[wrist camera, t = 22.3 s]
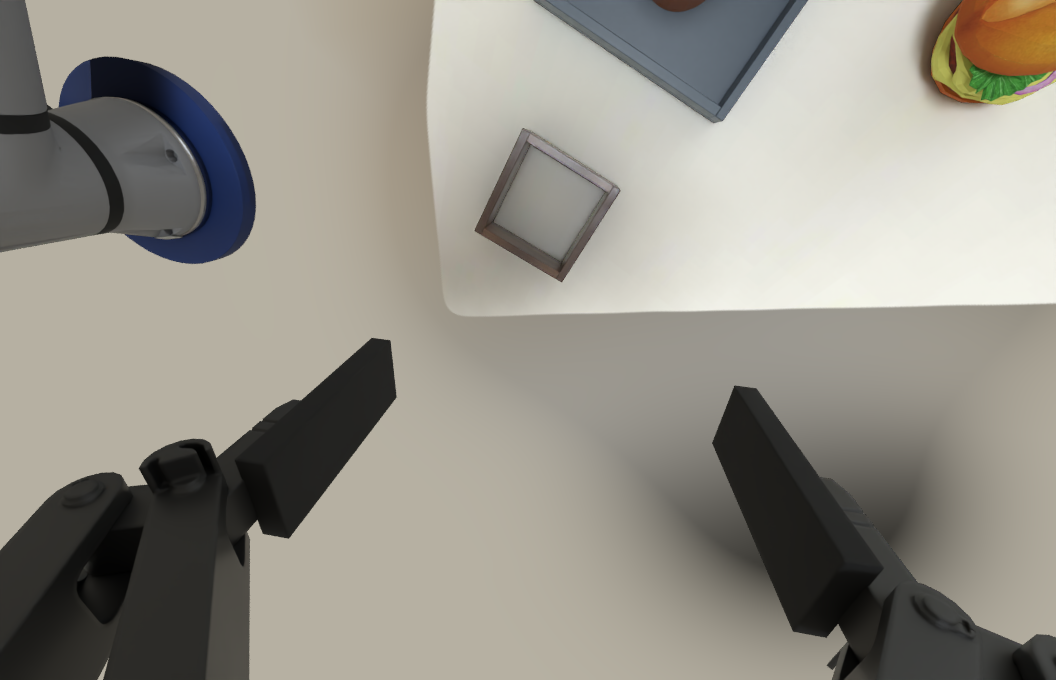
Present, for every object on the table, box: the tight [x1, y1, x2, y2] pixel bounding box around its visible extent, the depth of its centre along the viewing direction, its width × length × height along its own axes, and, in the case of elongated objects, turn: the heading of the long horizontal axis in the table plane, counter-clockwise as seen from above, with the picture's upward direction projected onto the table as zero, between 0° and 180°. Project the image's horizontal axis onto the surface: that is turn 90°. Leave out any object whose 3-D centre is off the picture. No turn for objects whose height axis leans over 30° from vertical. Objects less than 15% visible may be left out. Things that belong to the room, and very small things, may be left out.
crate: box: [475, 128, 620, 282], centre depth 39 cm, size 11×11×4 cm
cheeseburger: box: [931, 0, 1056, 105], centre depth 27 cm, size 10×11×10 cm
